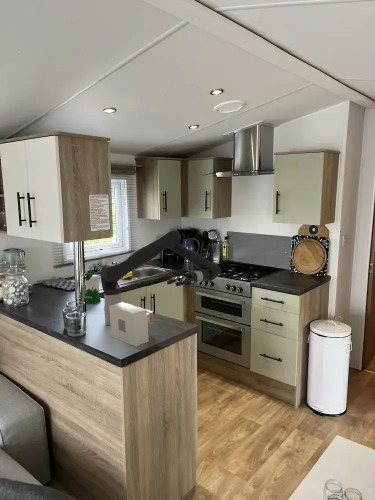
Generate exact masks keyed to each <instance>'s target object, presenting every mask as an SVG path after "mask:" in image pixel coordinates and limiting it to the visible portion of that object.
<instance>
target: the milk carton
mask: <svg viewBox="0 0 375 500" xmlns="http://www.w3.org/2000/svg"><path fill="white" fill-rule="evenodd" d="M84 276H85V283H84V286H85V285H86V294H85V303H86V304H91V305H92V304H93V305H95V304H98V303H99V302H101V293H100V274H93V273H92V272H87V273H85V275H84Z"/></svg>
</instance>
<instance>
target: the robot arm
mask: <svg viewBox="0 0 375 500" xmlns="http://www.w3.org/2000/svg"><path fill="white" fill-rule="evenodd" d="M181 240H182V235H181V233H180V231H178V230H177V229H176V230H175V229H173V230H169V231H167V232H166V233H165V234H163V235H161V236H160V237H158V238H157V239H155V240H153V241H151V242H149V243H147V244H145V245H143V246H141V247H139V248H137V249H136V250H134V251H133V252H132V253H131V254H130V255H129V256H128V257H127V258H126V259H125V260H123V261H121V262H119V263H117V264H112V263H106V264H105V265H103V266H102V267H101V270H100V279H101V281H100V282H101V289H102V292H103V299H104V306H103V308H104V309H103V310H104V311H103V312H104V321H105V325H106V326H109V327H111V324H110V310H109V306H110V305H114V304H117V303H121V302H122V291H121V287H120V285H119V283H118V282H119V281H120V280H121V279H123V278H124V277H125V276H126V275H128V274H130V273H131V272H133V271H134V270H136V269H138V268H140V267H142V266H143V265H146V264H147V263H148V262H151V261H152V260H154V259H155V258H156V257H158V256H159V255H160V253H162V252H163V251H164V250H166V249H169V250H171V251H172V252H173V253H176V254H178V255H179V256H181V257H182V258H184V259H185V260H187V261H188V262H190V264H192V265H194V266H195V267H196V268H197V269H195V270H192V271H187V272H185V273H184V274H183V276H182V275H181V276H178V275H176V276H173V277H169V278H170V279H167V280H166V285H172V284H175V287H180V286H186V287H187V286H194V285H197V284H199V283H202V282H205V281H207V282H211V281H214V280H215V279H216V278H217V277H219V275H220V274H221V272H222V270H221V267H220V266H219V264H217V263H215V262H213V261H210V260H208V259H206V258H205V257H204V256H202V255H201V254H200V253H198V252H197V251H194V250H191V249H189V248H187V247H185V246H184V245H183V244H181V243H180V242H181Z"/></svg>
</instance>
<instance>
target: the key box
mask: <svg viewBox="0 0 375 500" xmlns="http://www.w3.org/2000/svg"><path fill="white" fill-rule="evenodd" d="M109 310H110V324H111V326H110V333H111V334H110V335H111V337H112V338H115V339H116V340H119V341H121V342H123V343H126V344H128V345H131V346H133V347H138V346H141V345H143V344H146V343H148V342H150V341H149V340H150V339H149V326H148V325H149V324H148V322H147V310H148V309H146V308H142V307H140V306H136V305H134V304H130V303H126V302H125V301H121V303H117V304H114V305H110V306H109Z"/></svg>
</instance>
